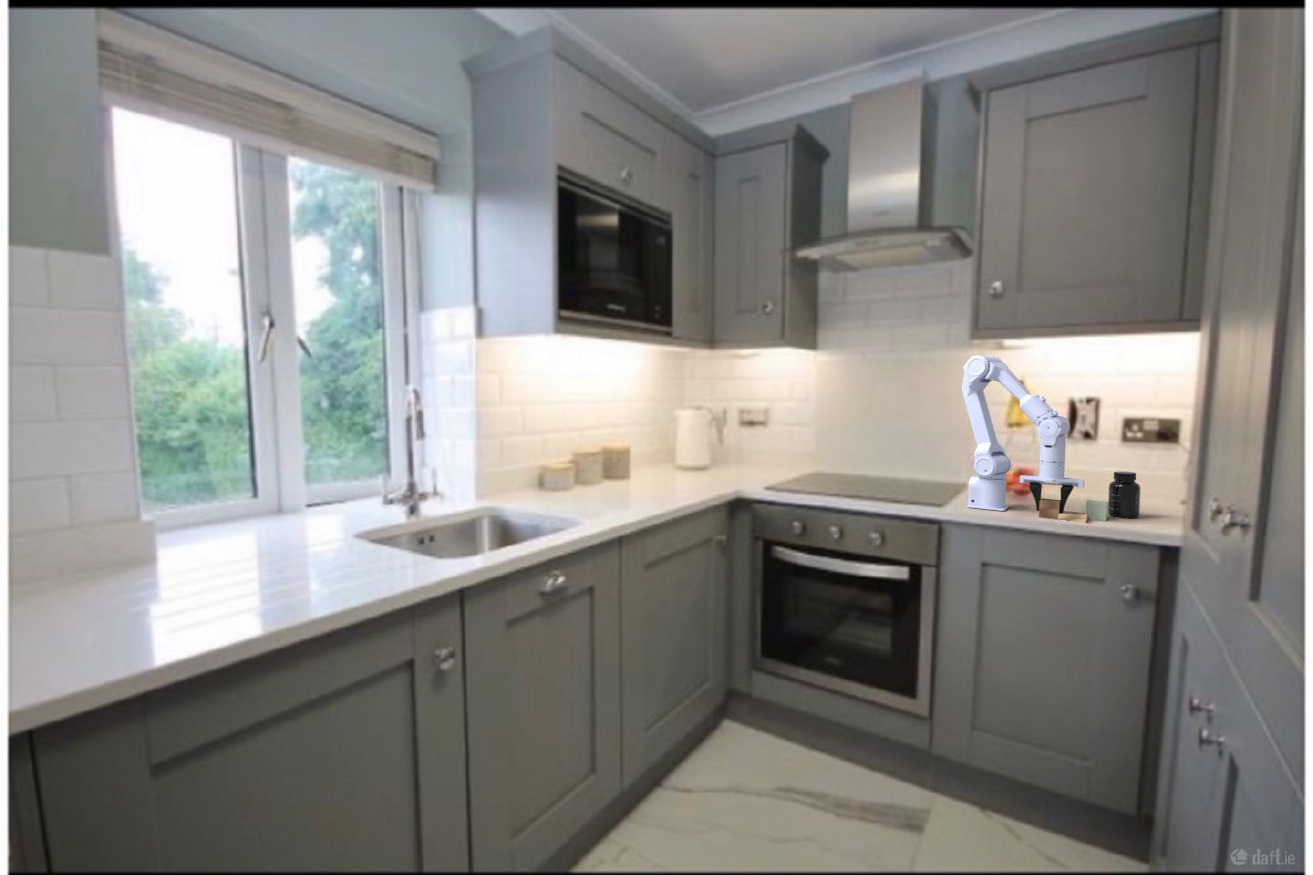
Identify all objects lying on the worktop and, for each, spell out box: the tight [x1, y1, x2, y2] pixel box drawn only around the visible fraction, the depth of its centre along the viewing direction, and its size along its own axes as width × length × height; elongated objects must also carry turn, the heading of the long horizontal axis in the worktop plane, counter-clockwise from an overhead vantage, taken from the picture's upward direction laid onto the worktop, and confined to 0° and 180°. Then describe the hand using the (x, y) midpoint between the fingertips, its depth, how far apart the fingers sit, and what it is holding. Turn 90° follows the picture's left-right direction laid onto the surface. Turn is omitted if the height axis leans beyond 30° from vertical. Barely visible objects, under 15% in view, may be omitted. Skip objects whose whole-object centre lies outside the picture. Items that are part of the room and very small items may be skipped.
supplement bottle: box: [1107, 471, 1141, 520], centre depth 169 cm, size 7×7×12 cm
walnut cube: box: [1038, 497, 1061, 520], centre depth 169 cm, size 4×4×4 cm
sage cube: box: [1085, 499, 1109, 522], centre depth 167 cm, size 4×4×4 cm
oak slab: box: [1057, 510, 1089, 524], centre depth 166 cm, size 6×6×2 cm
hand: (1049, 511), depth 169 cm, fingers closed on walnut cube, 5 cm apart
